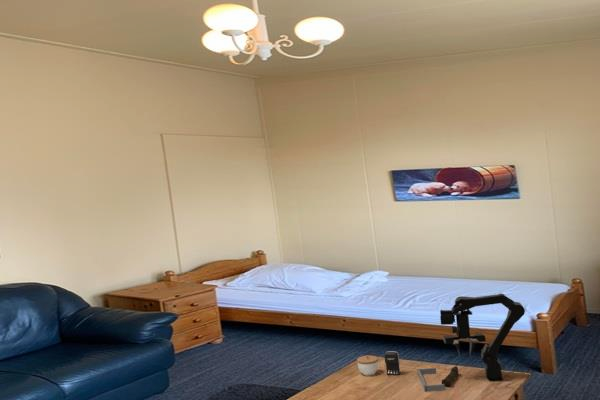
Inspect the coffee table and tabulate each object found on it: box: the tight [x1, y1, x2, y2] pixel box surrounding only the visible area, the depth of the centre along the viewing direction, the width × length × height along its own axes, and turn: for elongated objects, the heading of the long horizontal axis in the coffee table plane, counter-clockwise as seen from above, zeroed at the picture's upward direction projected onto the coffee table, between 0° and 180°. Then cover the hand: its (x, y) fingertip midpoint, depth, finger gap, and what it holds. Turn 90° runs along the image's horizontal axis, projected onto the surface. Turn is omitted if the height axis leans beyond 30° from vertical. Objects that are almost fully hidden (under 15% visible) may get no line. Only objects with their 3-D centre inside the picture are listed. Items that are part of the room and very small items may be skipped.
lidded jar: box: [356, 354, 379, 377], centre depth 300 cm, size 11×11×9 cm
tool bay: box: [417, 367, 446, 392], centre depth 281 cm, size 9×24×2 cm, turn 177°
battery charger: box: [384, 350, 401, 376], centre depth 296 cm, size 7×4×11 cm, turn 70°
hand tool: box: [441, 365, 459, 388], centre depth 280 cm, size 19×4×5 cm, turn 146°
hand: (465, 356), depth 279 cm, fingers open, 4 cm apart
